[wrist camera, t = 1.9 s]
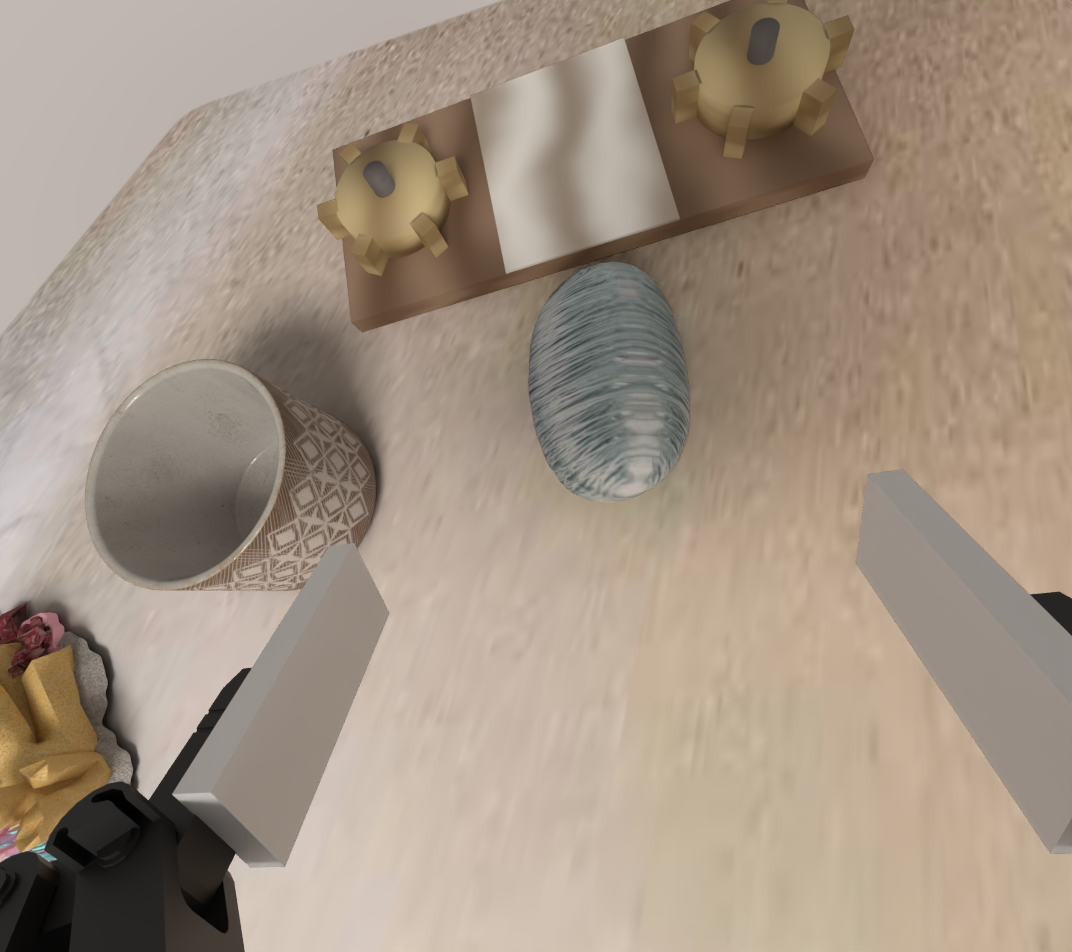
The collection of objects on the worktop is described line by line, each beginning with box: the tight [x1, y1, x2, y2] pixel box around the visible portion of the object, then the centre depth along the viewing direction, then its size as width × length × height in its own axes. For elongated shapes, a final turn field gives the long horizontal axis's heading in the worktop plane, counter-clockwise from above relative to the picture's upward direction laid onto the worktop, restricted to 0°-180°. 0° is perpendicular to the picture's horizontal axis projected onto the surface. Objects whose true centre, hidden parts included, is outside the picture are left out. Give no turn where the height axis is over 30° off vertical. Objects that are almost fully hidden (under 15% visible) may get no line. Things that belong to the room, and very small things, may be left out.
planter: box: [85, 359, 376, 591], centre depth 33 cm, size 13×13×10 cm
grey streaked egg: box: [528, 262, 690, 502], centre depth 31 cm, size 14×10×10 cm
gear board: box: [317, 0, 874, 332], centre depth 36 cm, size 37×16×6 cm, turn 101°
